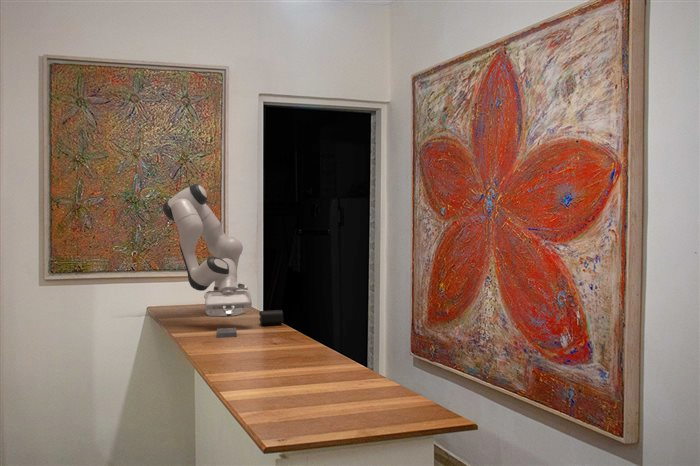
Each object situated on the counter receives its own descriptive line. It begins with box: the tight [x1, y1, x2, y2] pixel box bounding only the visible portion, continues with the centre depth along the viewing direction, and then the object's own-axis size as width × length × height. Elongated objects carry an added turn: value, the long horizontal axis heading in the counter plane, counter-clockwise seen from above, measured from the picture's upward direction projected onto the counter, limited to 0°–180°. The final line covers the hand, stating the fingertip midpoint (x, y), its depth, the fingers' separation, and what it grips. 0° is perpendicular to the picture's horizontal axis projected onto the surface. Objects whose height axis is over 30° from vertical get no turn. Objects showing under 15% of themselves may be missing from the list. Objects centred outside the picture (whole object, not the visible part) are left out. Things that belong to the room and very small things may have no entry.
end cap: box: [258, 309, 284, 327], centre depth 332 cm, size 10×7×7 cm
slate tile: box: [216, 327, 238, 339], centre depth 308 cm, size 2×8×12 cm
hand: (229, 315), depth 318 cm, fingers closed
